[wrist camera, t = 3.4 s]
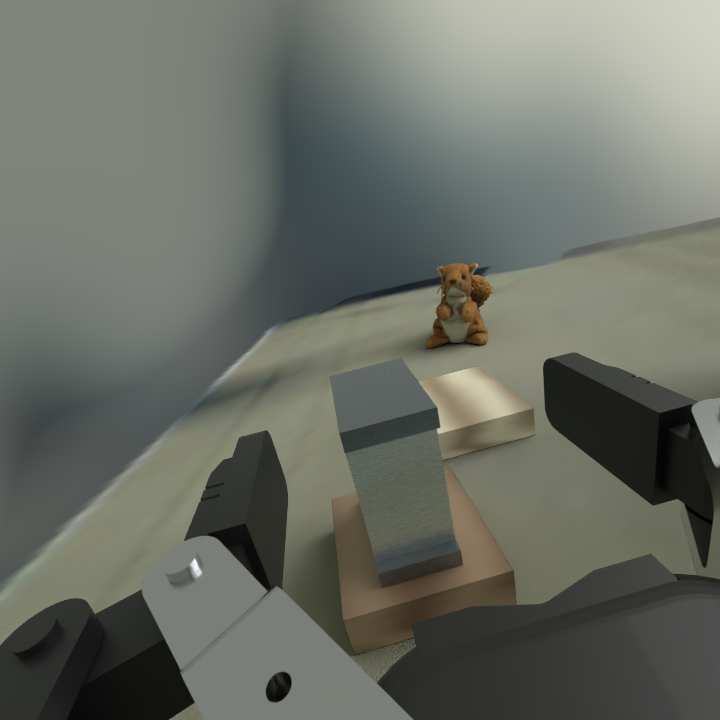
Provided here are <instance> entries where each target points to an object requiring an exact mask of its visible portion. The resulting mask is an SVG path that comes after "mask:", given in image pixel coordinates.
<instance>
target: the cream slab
mask: <svg viewBox="0 0 720 720" xmlns="http://www.w3.org/2000/svg"><path fill="white" fill-rule="evenodd" d="M419 383H420V385H421V386H422V387H423V389H424V390H425V391H426V393H427V394H428V395H429V397H430V398H431V399H432V401H433V402H434V403H435V405H436V406H437V409H438V415H439V421H440V427H441V428H438V429H437V432H438V438H439V444H440V450H441V455H442V460H445V459H449V458H452V457H456V456H460V455H463V454H467V453H471V452H474V451H478V450H481V449H485V448H489V447H492V446H496V445H500V444H503V443H507V442H511V441H514V440H518V439H521V438H525V437H529V436H532V435H535V426H534V410H533V408H532V407H531V406H530V405H529V404H527V403H526V402H525V401H523V400H522V399H521V398H520V397H518V396H517V395H516V394H515V393H513V392H512V391H511V390H509V389H508V388H507V387H506V386H504V385H503V384H502V383H500V382H499V381H498V380H497V379H495V378H494V377H493V376H492V375H490V374H489V373H488V372H486V371H485V370H484V369H483V368H481V367H480V366H477V367H473V368H469V369H465V370H461V371H457V372H454V373H450V374H446V375H442V376H438V377H435V378H431V379H427V380H423V381H419Z"/></svg>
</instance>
